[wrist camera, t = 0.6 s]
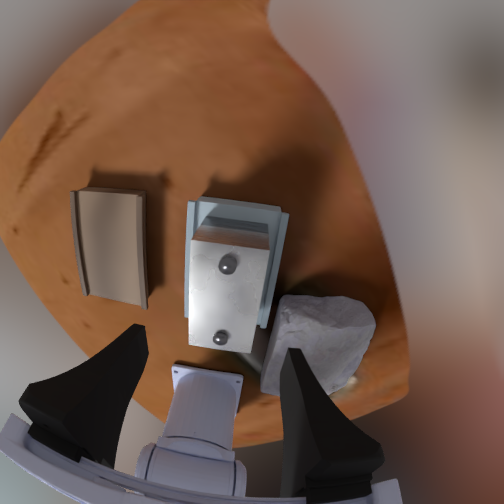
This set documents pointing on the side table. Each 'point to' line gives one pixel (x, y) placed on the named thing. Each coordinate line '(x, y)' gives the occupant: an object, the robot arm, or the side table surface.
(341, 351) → the stone block
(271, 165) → the side table surface
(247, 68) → the side table surface
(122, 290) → the walnut stand
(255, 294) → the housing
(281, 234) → the bluegrey stand
